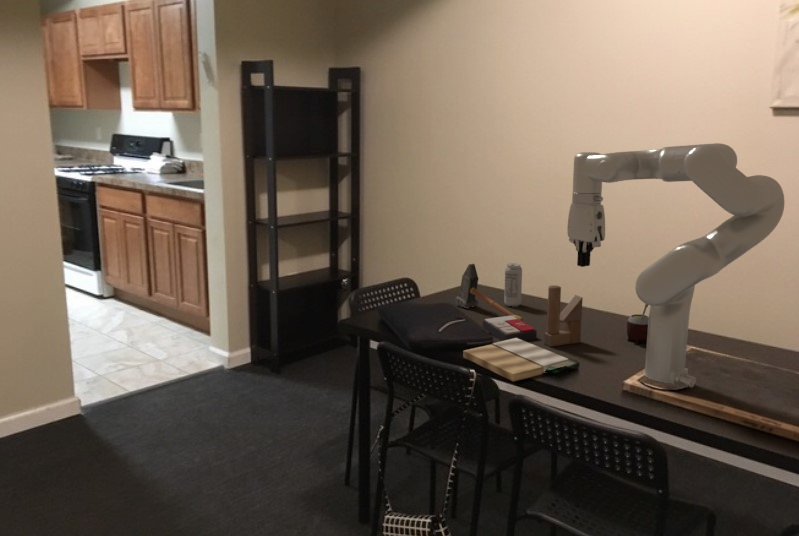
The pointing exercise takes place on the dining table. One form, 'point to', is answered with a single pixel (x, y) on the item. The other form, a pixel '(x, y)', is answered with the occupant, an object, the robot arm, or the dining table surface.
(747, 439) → the dining table surface
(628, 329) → the mate gourd
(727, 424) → the dining table surface
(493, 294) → the dining table surface
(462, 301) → the hammer
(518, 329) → the calculator
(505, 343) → the ash plank
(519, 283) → the energy drink can
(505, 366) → the oak board
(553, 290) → the wooden block
